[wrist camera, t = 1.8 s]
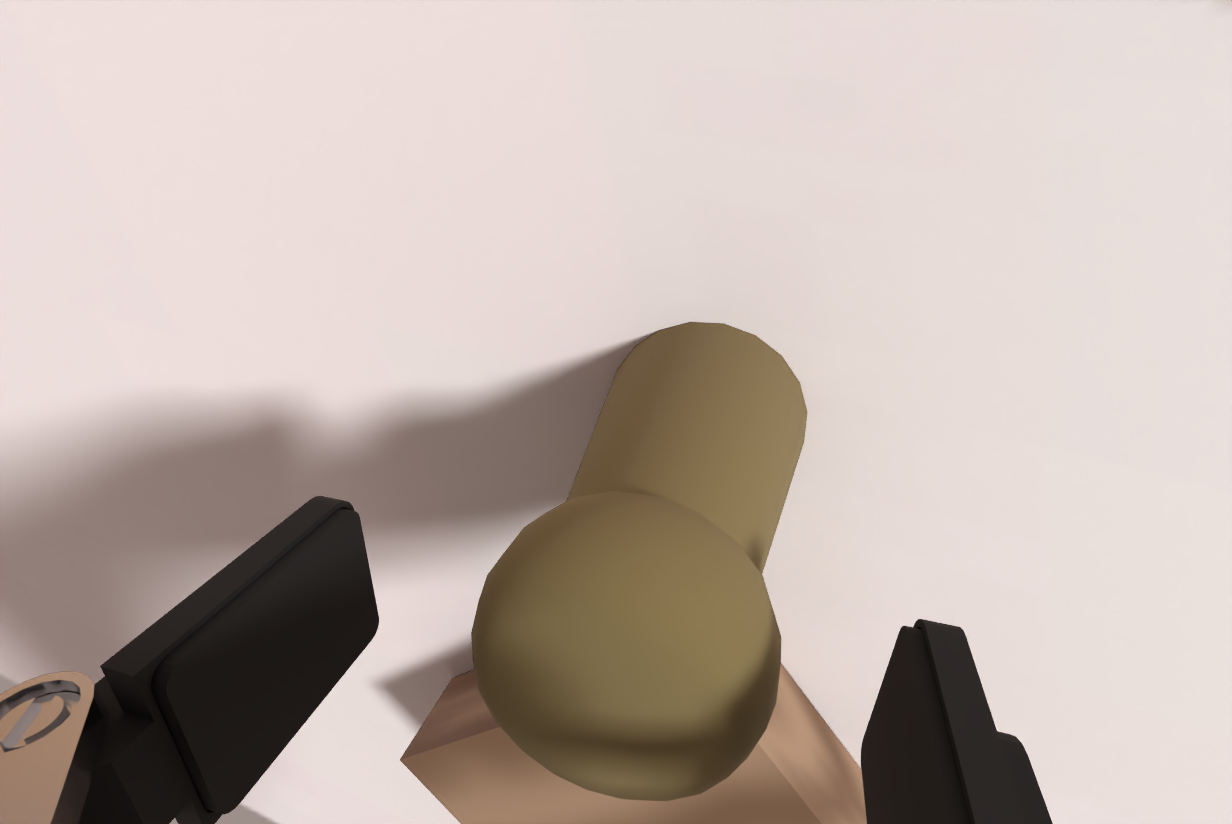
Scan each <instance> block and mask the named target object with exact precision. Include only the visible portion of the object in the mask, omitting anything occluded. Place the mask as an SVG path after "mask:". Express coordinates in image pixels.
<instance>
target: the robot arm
mask: <svg viewBox="0 0 1232 824" xmlns="http://www.w3.org/2000/svg"><path fill="white" fill-rule="evenodd" d="M378 624H379V616H378V611H377V605H376V600H375V595H374V590H373V584H372V579H371V574H370V569H369V563H368V558H367V553H366V548H365V542H364V537H363V532H362V527H361V521H360V517H359V514H358V513H357V512H355V511H354V509H353V506H352V505H351V504H350V503H349V502H347V501H343V500H338V499H333V498H328V497H323V496H317V497H314V498H312V499H311V500H309V501H308V502H307V503H305V504H304V505H303V506H302V507H300V508H299V509H298V510H297V511H295V512H294V513H293V514H292V515H290V516H289V517H288V518H287V519H285V520H284V521H283V522H282V523H280V524H279V525H278V526H276V527H275V528H274V529H273V530H271V531H270V532H269V533H268V534H266V535H265V536H264V537H263V538H261V539H260V540H259V541H258V542H256V543H255V544H254V545H252V546H251V547H250V548H249V549H247V550H246V551H245V552H244V553H242V554H241V555H240V556H239V557H237V558H236V559H235V560H234V561H232V562H231V563H230V564H228V565H227V566H226V567H225V568H223V569H222V570H221V571H220V572H218V573H217V574H216V575H215V576H213V577H212V578H211V579H210V580H208V581H207V582H206V583H205V584H203V585H202V586H201V587H199V588H198V589H197V590H196V591H194V592H193V593H192V594H191V595H189V596H188V597H187V598H186V599H184V600H183V601H182V602H181V603H179V604H178V605H177V606H175V607H174V608H173V609H172V610H170V611H169V612H168V613H167V614H165V615H164V616H163V617H162V618H160V619H159V620H158V621H157V622H155V623H154V624H153V625H151V626H150V627H149V628H148V629H146V630H145V631H144V632H143V633H141V634H140V635H139V636H138V637H136V638H135V639H134V640H133V641H131V642H130V643H129V644H127V645H126V646H125V647H124V648H122V649H121V650H120V651H119V652H117V653H116V654H115V655H114V656H112V657H111V658H110V659H109V660H107V661H106V662H105V663H104V664H102V665H101V666H100V667H101V669H102V671H103V673H104V675H105V677H103V678H102V679H101V680H100V681H98V682H97V683H96V684H95V685H94V683H93V682H92V680H91V678H90V677H89V676H87V675H85V674H82V673H80V672H70V671H62V672H56V673H50V674H45V675H42V676H39V677H36V678H33V679H30V680H28V681H25V682H23V683H21V684H19V685H17V686H15V687H13V688H11V689H9V690H7V691H5V692H3V693H2V694H0V824H169V823H170V822H171V821H172V820H173V819H174V818H176V820H177V822H178V823H179V824H215V823H216V822H217V820H218V819H219V818H220V817H221V815H222V814H227V813H229V812H231V811H232V810H233V809H235V808H236V807H237V806H238V804H239V803H240V802H241V801H242V800H243V799H244V797H245V796H246V795H247V794H248V792H249V791H250V790H251V789H252V787H253V786H254V785H255V784H256V782H257V781H258V780H259V779H260V777H261V776H262V775H263V774H264V773H265V771H266V770H267V769H268V768H269V766H270V765H271V764H272V763H273V761H274V760H275V759H276V758H277V756H278V755H279V754H280V753H281V752H282V750H283V749H284V748H285V747H286V745H287V744H288V743H289V742H290V740H291V739H292V738H293V737H294V735H295V734H296V733H297V732H298V730H299V729H300V728H301V727H302V726H303V724H304V723H305V722H306V721H307V719H308V718H309V717H310V716H311V714H312V713H313V712H314V711H315V709H316V708H317V707H318V706H319V704H320V703H321V702H322V701H323V700H324V698H325V697H326V696H327V695H328V693H329V692H330V691H331V690H332V688H333V687H334V686H335V685H336V683H337V682H338V681H339V680H340V678H341V677H342V676H343V675H344V674H345V672H346V671H347V670H348V669H349V667H350V666H351V665H352V664H353V662H354V661H355V660H356V659H357V657H358V656H359V655H360V654H361V653H362V651H363V650H364V649H365V648H366V646H367V645H368V644H369V643H370V641H371V640H372V639H373V637H374V636H375V634H376V631H377V628H378ZM861 770H862V780H863V790H864V800H865V810H866V819H867V824H1052V821H1051V818H1050V815H1049V813H1048V810H1047V807H1046V804H1045V802H1044V799H1043V796H1042V793H1041V791H1040V788H1039V785H1038V782H1037V780H1036V777H1035V774H1034V771H1033V769H1032V766H1031V763H1030V760H1029V758H1028V755H1027V753H1026V751H1025V749H1024V747H1023V745H1022V743H1021V742H1020V741H1019V740H1018V739H1017V737H1015V736H1013V735H1010V734H1006V733H1002V732H998V731H997V730H996V727H995V724H994V721H993V718H992V715H991V712H990V709H989V706H988V703H987V700H986V697H985V694H984V690H983V687H982V684H981V681H980V678H979V675H978V672H977V669H976V666H975V663H974V660H973V657H972V654H971V651H970V648H969V645H968V642H967V638H966V636H965V633H964V631H963V630H962V629H961V628H960V627H957V626H952V625H947V624H942V623H937V622H932V621H927V620H923V619H918V620H917V621H916V622H915V625H914V627H913V628H912V627H908V626H902V628H901V629H900V632H899V634H898V637H897V640H896V643H895V646H894V649H893V652H892V655H891V658H890V661H889V664H888V667H887V670H886V673H885V676H884V679H883V682H882V685H881V688H880V691H879V694H878V697H877V700H876V703H875V706H874V708H873V711H872V714H871V717H870V720H869V723H868V726H867V729H866V732H865V735H864V738H863V742H862V748H861Z"/></svg>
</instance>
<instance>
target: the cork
mask: <svg viewBox="0 0 1232 824" xmlns="http://www.w3.org/2000/svg"><path fill="white" fill-rule="evenodd" d="M806 419H807V409H806V405H805V401H804V397H803V393H802V389H801V385H800V382H799V381H798V379H797V378H796V376H795V375H794V373H793V372H792V370H791V369H790V367H789V366H788V364H787V363H786V361H785V360H784V358H783V357H782V356H781V355H780V354H779V353H778V352H776V351H775V350H774V349H772V348H771V347H770V346H769V345H767V344H766V343H765V342H763V341H762V340H761V339H759V338H758V337H757V336H756V335H753V334H750V333H748V332H745V331H742V330H739V329H737V328H734V327H731V326H729V325H726V324H720V323H700V322H689V323H685V324H681V325H677V326H674V327H670V328H666V329H662V330H659V331H658V332H656V333H655V334H653V335H652V336H650V337H649V338H647V339H646V340H644V341H643V342H641V343H640V344H638V345H636V346H635V347H634V348H633V350H632V351H631V352H630V353H629V355H628V356H627V357H626V359H625V360H624V361H623V363H622V364H621V365H620V367H619V368H618V369H617V372H616V375H615V377H614V380H613V382H612V385H611V387H610V390H609V393H608V395H607V398H606V400H605V403H604V405H603V408H602V411H601V413H600V416H599V418H598V421H597V424H596V426H595V429H594V431H593V434H592V436H591V439H590V442H589V444H588V447H587V449H586V452H585V454H584V457H583V460H582V462H581V465H580V467H579V470H578V473H577V475H576V478H575V480H574V483H573V485H572V488H571V491H570V493H569V496H568V498H567V501H566V502H565V503H563V504H561V505H559V506H558V507H556V508H554V509H552V510H550V511H548V512H547V513H545V514H543V515H542V516H540V517H539V518H537V519H536V520H534V521H533V522H531V523H530V524H529V525H527V526H526V527H524V528H523V530H522V531H521V532H520V533H519V535H518V536H517V537H516V538H515V540H514V541H513V542H512V544H511V545H510V546H509V547H508V549H507V550H506V551H505V552H504V554H503V555H502V556H501V558H500V559H499V560H498V562H497V563H496V564H495V566H494V567H493V568H492V570H491V571H490V572H489V574H488V575H487V578H486V581H485V584H484V587H483V590H482V593H481V596H480V599H479V603H478V607H477V611H476V615H475V620H474V624H473V628H472V632H471V634H472V650H473V662H474V668H475V673H476V679H477V685H478V690H479V692H480V694H481V696H482V698H483V700H484V702H485V703H486V705H487V707H488V709H489V711H490V713H491V715H492V717H493V718H494V720H495V721H496V723H497V724H498V725H499V726H500V727H501V728H502V729H503V730H504V731H505V733H506V734H507V735H508V736H509V737H510V738H511V739H512V740H513V741H514V742H515V744H516V745H517V746H518V747H519V748H520V749H521V750H522V751H523V752H525V753H526V754H527V755H528V756H530V757H531V758H532V759H534V760H535V761H537V762H538V763H539V764H541V765H542V766H543V767H545V768H546V769H547V770H549V771H550V772H552V773H553V774H554V775H556V776H559V777H561V778H563V779H565V780H567V781H569V782H571V783H573V784H575V785H577V786H580V787H582V788H584V789H586V790H589V791H593V792H597V793H600V794H604V795H608V796H612V797H615V798H619V799H627V800H646V801H671V800H675V799H680V798H685V797H689V796H694V795H699V794H702V793H703V792H705V791H707V790H708V789H710V788H712V787H713V786H715V785H716V784H718V783H720V782H721V781H723V780H725V779H726V778H728V777H729V776H730V775H731V774H732V773H733V772H734V771H735V770H736V769H737V768H738V767H739V766H740V765H741V764H742V763H743V762H744V761H745V760H746V759H747V758H748V757H749V755H750V753H751V752H752V750H753V749H754V747H755V746H756V744H757V743H758V741H759V740H760V738H761V737H762V735H763V734H764V732H765V731H766V729H767V726H768V724H769V721H770V718H771V716H772V713H773V710H774V708H775V705H776V701H777V692H778V684H779V675H780V666H781V635H780V632H779V628H778V625H777V622H776V618H775V615H774V612H773V608H772V605H771V602H770V599H769V595H768V592H767V589H766V586H765V582H764V579H763V576H762V573H763V569H764V566H765V563H766V560H767V557H768V554H769V550H770V547H771V544H772V541H773V538H774V535H775V531H776V528H777V525H778V522H779V519H780V516H781V513H782V509H783V506H784V503H785V500H786V497H787V494H788V490H789V487H790V484H791V481H792V478H793V475H794V471H795V468H796V465H797V462H798V459H799V456H800V452H801V449H802V446H803V443H804V437H805V428H806Z"/></svg>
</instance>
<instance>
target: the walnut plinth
mask: <svg viewBox="0 0 1232 824" xmlns="http://www.w3.org/2000/svg"><path fill="white" fill-rule="evenodd" d="M400 761H401V762H402V763H403V764H404V765H405V766H406V767H407V768H408V769H409V770H410V771H411V772H412V773H413V774H414V775H415V776H416V777H417V778H418V779H419V780H420V781H421V783H422V784H423V785H424V786H425V787H426V788H427V789H428V790H429V791H430V792H431V793H432V794H433V795H434V796H435V797H436V798H437V799H438V800H439V801H440V802H441V803H442V804H443V805H444V807H445V808H446V809H447V810H448V811H449V812H450V813H451V814H452V815H453V816H454V817H455V818H456V819H457V820H458V821H459V822H460V823H461V824H867V819H866V810H865V800H864V790H863V780H862V770H861V768H860V767H859V766H858V765H857V763H856V762H855V761H854V759H853V758H852V757H851V755H850V754H849V753H848V751H847V750H846V749H845V747H844V746H843V745H842V743H841V742H840V741H839V739H838V738H837V737H836V735H835V734H834V733H833V731H832V730H831V729H830V727H829V726H828V725H827V723H826V722H825V721H824V719H823V718H822V717H821V715H820V714H819V713H818V711H817V710H816V709H815V708H814V706H813V705H812V704H811V702H810V701H809V700H808V698H807V697H806V696H805V694H804V693H803V692H802V690H801V689H800V688H799V686H798V685H797V684H796V682H795V681H794V680H793V678H792V677H791V676H790V674H789V673H788V672H787V670H786V669H785V668H784V666H783V665H782V664H781V666H780V675H779V684H778V692H777V701H776V705H775V708H774V710H773V713H772V716H771V718H770V721H769V724H768V726H767V729H766V731H765V732H764V734H763V735H762V737H761V738H760V740H759V741H758V743H757V744H756V746H755V747H754V749H753V750H752V752H751V753H750V755H749V757H748V758H747V759H746V760H745V761H744V762H743V763H742V764H741V765H740V766H739V767H738V768H737V769H736V770H735V771H734V772H733V773H732V774H731V775H730V776H729V777H728V778H726V779H725V780H723V781H721V782H720V783H718V784H716V785H715V786H713V787H712V788H710V789H708V790H707V791H705V792H703V793H702V794H699V795H694V796H689V797H685V798H680V799H675V800H671V801H646V800H627V799H619V798H615V797H612V796H608V795H604V794H600V793H597V792H593V791H589V790H586V789H584V788H582V787H580V786H577V785H575V784H573V783H571V782H569V781H567V780H565V779H563V778H561V777H559V776H556V775H554V774H553V773H552V772H550V771H549V770H547V769H546V768H545V767H543V766H542V765H541V764H539V763H538V762H537V761H535V760H534V759H532V758H531V757H530V756H528V755H527V754H526V753H525V752H523V751H522V750H521V749H520V748H519V747H518V746H517V745H516V744H515V742H514V741H513V740H512V739H511V738H510V737H509V736H508V735H507V734H506V733H505V731H504V730H503V729H502V728H501V727H500V726H499V725H498V724H497V723H496V721H495V720H494V718H493V717H492V715H491V713H490V711H489V709H488V707H487V705H486V703H485V702H484V700H483V698H482V696H481V694H480V692H479V690H478V685H477V679H476V673H475V670H472V671H470V672H467V673H465V674H462V675H460V676H458V677H455V678H453V679H452V680H451V681H450V683H449V684H448V686H447V687H446V689H445V690H444V692H443V694H442V695H441V697H440V698H439V700H438V701H437V703H436V704H435V706H434V708H433V709H432V711H431V712H430V714H429V715H428V717H427V718H426V720H425V722H424V723H423V725H422V726H421V728H420V729H419V731H418V732H417V734H416V736H415V737H414V739H413V740H412V742H411V743H410V745H409V746H408V748H407V750H406V751H405V753H404V754H403V756H402V757H401V759H400Z"/></svg>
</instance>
